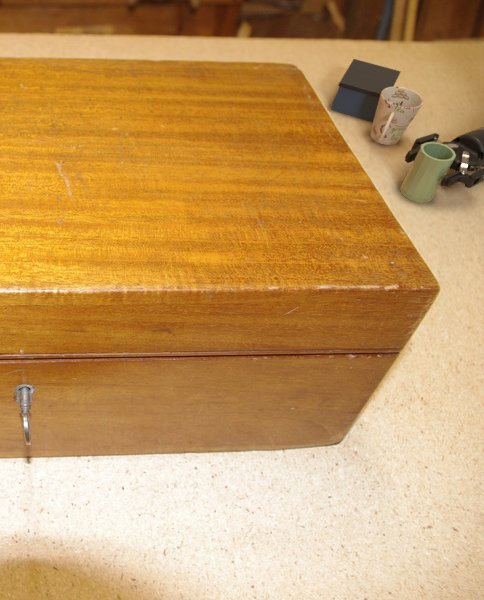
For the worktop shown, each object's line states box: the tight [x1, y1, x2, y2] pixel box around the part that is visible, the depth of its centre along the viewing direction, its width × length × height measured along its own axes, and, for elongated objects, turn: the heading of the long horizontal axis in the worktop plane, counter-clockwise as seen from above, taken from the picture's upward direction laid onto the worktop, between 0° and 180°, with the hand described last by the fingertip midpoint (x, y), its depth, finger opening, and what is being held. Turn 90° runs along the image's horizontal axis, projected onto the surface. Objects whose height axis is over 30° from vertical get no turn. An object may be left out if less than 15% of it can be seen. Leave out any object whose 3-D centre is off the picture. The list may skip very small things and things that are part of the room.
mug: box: [369, 86, 424, 146], centre depth 149 cm, size 8×13×10 cm, turn 149°
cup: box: [399, 142, 456, 204], centre depth 137 cm, size 6×6×10 cm
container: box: [331, 58, 401, 123], centre depth 161 cm, size 11×13×7 cm
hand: (425, 169), depth 136 cm, fingers open, 8 cm apart
